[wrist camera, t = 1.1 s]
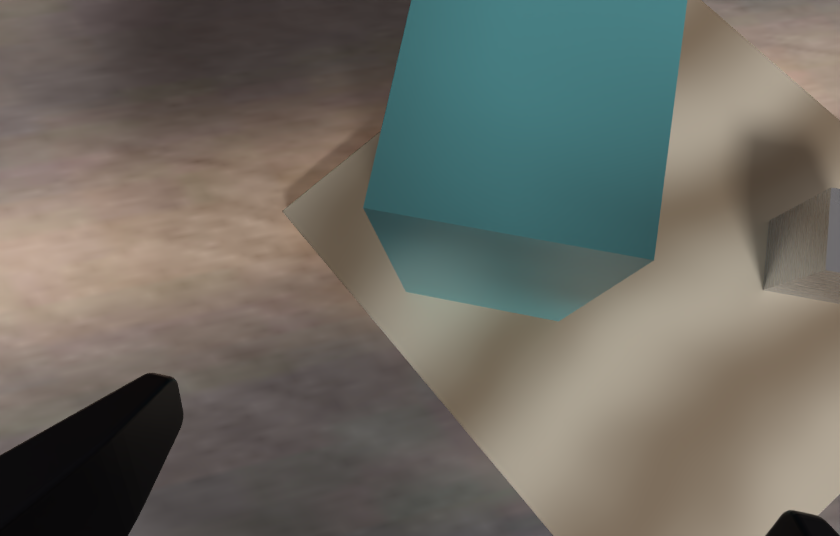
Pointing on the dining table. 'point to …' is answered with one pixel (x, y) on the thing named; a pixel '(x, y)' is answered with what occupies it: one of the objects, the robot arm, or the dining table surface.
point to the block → (806, 249)
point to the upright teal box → (526, 149)
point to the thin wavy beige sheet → (646, 328)
